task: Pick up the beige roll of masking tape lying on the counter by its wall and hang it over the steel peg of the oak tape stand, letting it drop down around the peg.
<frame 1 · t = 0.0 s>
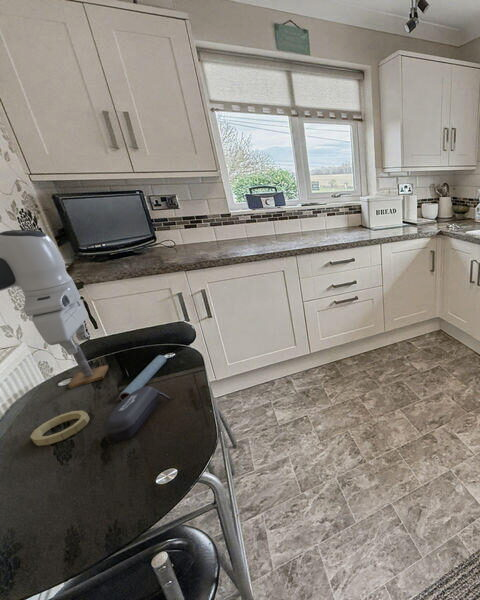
hand: (79, 345, 85), 23 cm above the table, tool pointing down, fingers open, 8 cm apart
tape stand: (90, 378, 113), on the table
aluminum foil: (141, 381, 109), on the table
tape: (63, 431, 89), on the table
glasses case: (140, 421, 90), on the table
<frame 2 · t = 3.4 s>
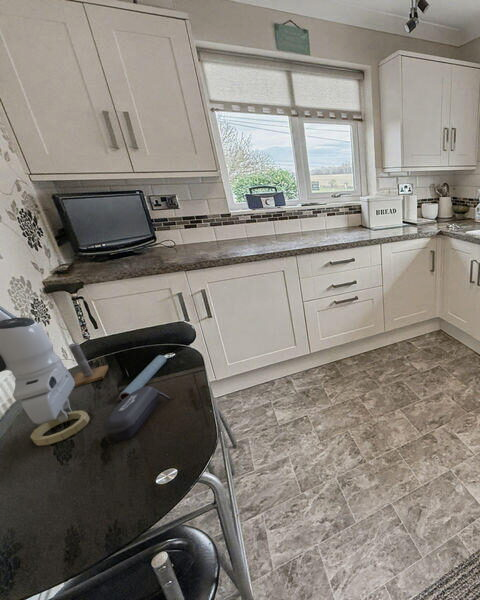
hand: (66, 416, 92), 2 cm above the table, tool pointing down, fingers closed on tape, 1 cm apart
tape: (63, 431, 89), on the table, touching gripper
everything else where it was.
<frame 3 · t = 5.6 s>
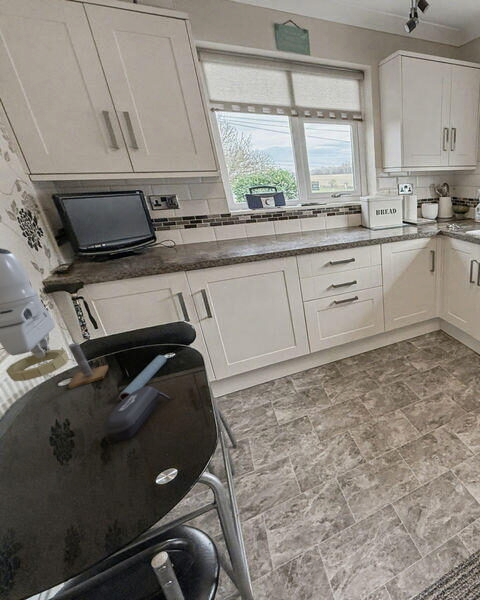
hand: (43, 354, 90), 19 cm above the table, tool pointing down, fingers closed on tape
tape: (41, 368, 87), point 17 cm above the table, touching gripper
everything else where it was.
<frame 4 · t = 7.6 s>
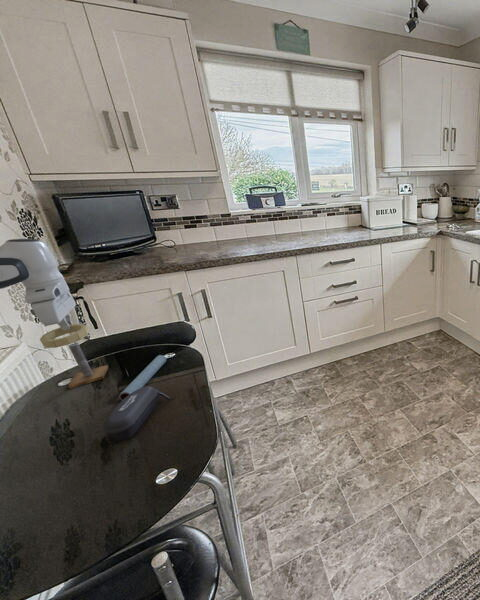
hand: (68, 328, 109), 19 cm above the table, tool pointing down, fingers closed on tape
tape: (67, 338, 106), point 17 cm above the table, touching gripper
everything else where it was.
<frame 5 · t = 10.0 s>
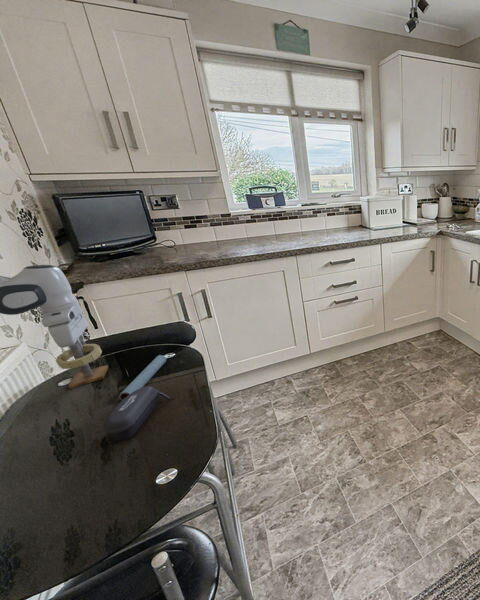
hand: (81, 347, 114), 10 cm above the table, tool pointing down, fingers closed on tape
tape: (81, 358, 111), point 8 cm above the table, tilted 7°, touching gripper
everything else where it was.
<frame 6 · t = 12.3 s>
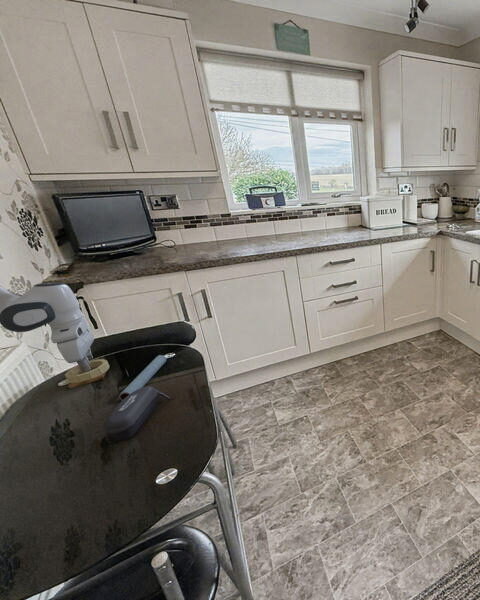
hand: (88, 362, 116), 4 cm above the table, tool pointing down, fingers closed
tape: (89, 373, 114), point 1 cm above the table, touching tape stand
everything else where it was.
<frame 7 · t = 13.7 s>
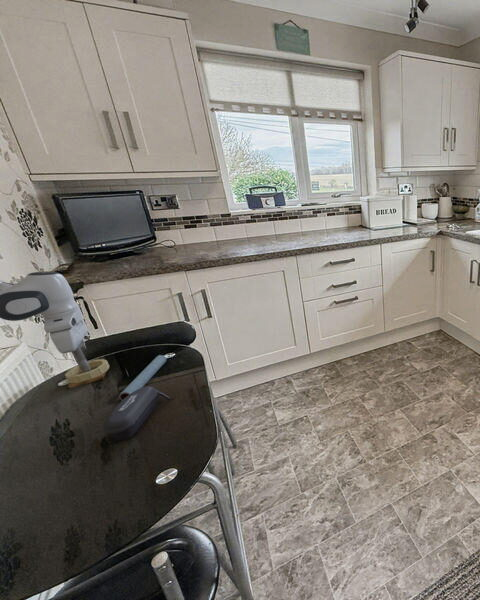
hand: (81, 353, 115), 8 cm above the table, tool pointing down, fingers open, 3 cm apart
nothing on the table moved.
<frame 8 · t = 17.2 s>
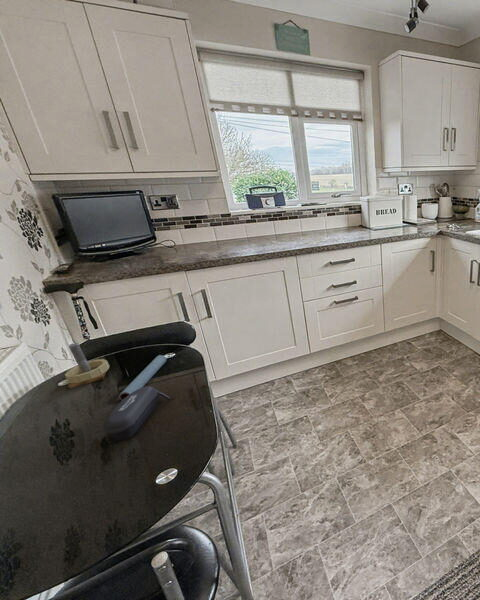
nothing on the table moved.
at the end: tape 1.0 cm from the tape stand (horizontally); tape point 1.5 cm above the table; the gripper is holding nothing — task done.
